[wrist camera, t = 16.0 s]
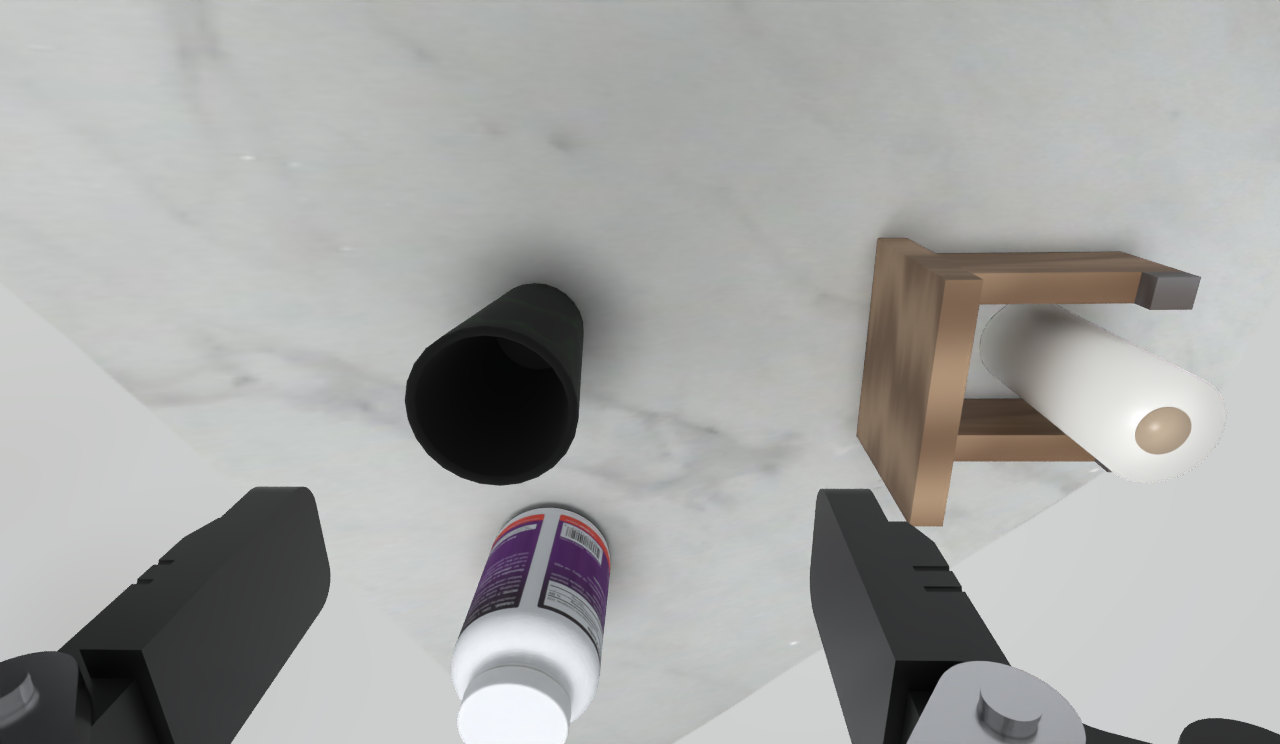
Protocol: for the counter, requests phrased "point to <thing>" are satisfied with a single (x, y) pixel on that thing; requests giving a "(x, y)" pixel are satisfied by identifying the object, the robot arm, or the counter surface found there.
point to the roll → (1105, 391)
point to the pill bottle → (533, 631)
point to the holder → (941, 350)
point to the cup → (501, 388)
